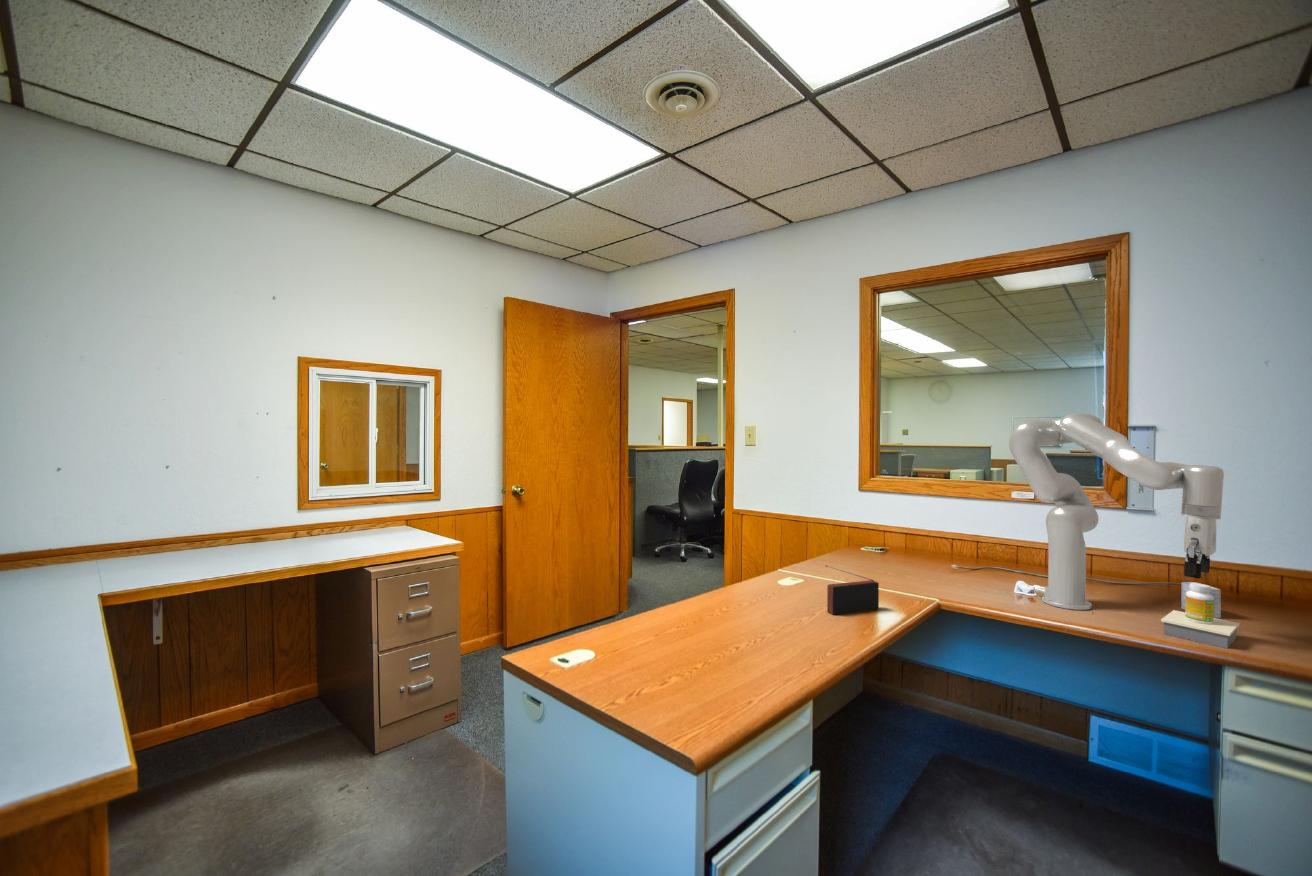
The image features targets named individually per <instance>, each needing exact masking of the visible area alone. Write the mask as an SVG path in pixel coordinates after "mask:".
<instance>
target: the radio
mask: <svg viewBox="0 0 1312 876" xmlns="http://www.w3.org/2000/svg"><path fill="white" fill-rule="evenodd" d="M825 567H826V568H831V569H833V570H837V571H839V572H843V573H847V574H850V575H853V576H857V577H860V578H862V579H866V580H860V581H850V582H840V583H839V582H838V583H832V584H831V583H830V584H827V588H826V589H827V597H826V598H827V600H826V601H827V604H826V607H827V608H826V609H827V613H828V614H831V615H832V616H837V615H846V614H853V613H855V614H856V613H863V612H871V611H878V610H879V608H880V607H879V606H880V605H879V604H880V603H879V602H880V601H879V599H880V598H879V596H880V595H879V592H880V589H879V586H880V585H879V584H880V583H879V582H877V581H875V580H874V579H872V578H868V577H865V576H861V575H859V574H855V573H851V572H849V571H845V570H842V569H838V568H835V567H832V566H830V565H829V566H828V565H825Z"/></svg>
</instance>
